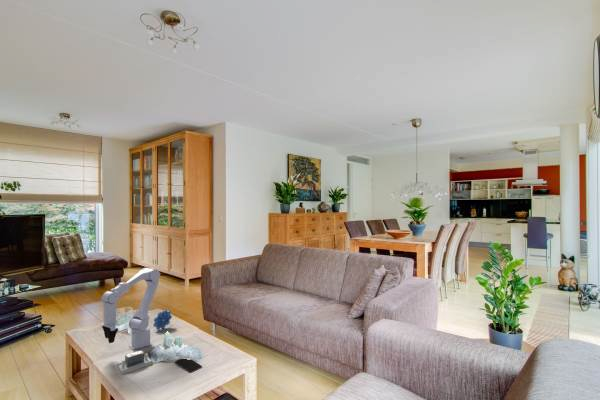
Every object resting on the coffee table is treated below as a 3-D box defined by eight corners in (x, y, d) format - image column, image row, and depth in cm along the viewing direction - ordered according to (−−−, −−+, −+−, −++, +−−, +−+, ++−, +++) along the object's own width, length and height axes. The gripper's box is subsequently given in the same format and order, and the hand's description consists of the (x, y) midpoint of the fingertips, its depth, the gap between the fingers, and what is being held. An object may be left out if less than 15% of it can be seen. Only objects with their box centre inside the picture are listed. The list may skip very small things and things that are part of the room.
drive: (142, 359, 163) (142, 349, 163) (144, 362, 161) (144, 352, 161) (125, 364, 158) (125, 354, 158) (127, 367, 155) (127, 357, 155)
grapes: (168, 324, 212) (169, 306, 212) (173, 327, 207) (173, 309, 207) (150, 329, 204) (151, 310, 204) (154, 332, 199) (155, 313, 199)
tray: (146, 357, 167) (146, 349, 167) (152, 363, 161) (152, 356, 161) (117, 366, 158) (117, 358, 158) (122, 374, 151) (122, 365, 151)
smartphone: (190, 372, 153) (173, 361, 162) (190, 374, 153) (173, 363, 162) (202, 366, 158) (186, 356, 168) (202, 368, 158) (186, 358, 168)
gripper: (98, 312, 168) (97, 337, 168) (104, 320, 157) (104, 347, 157) (113, 309, 173) (112, 334, 173) (120, 316, 162) (119, 343, 162)
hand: (109, 340), depth 165 cm, fingers open, 7 cm apart
